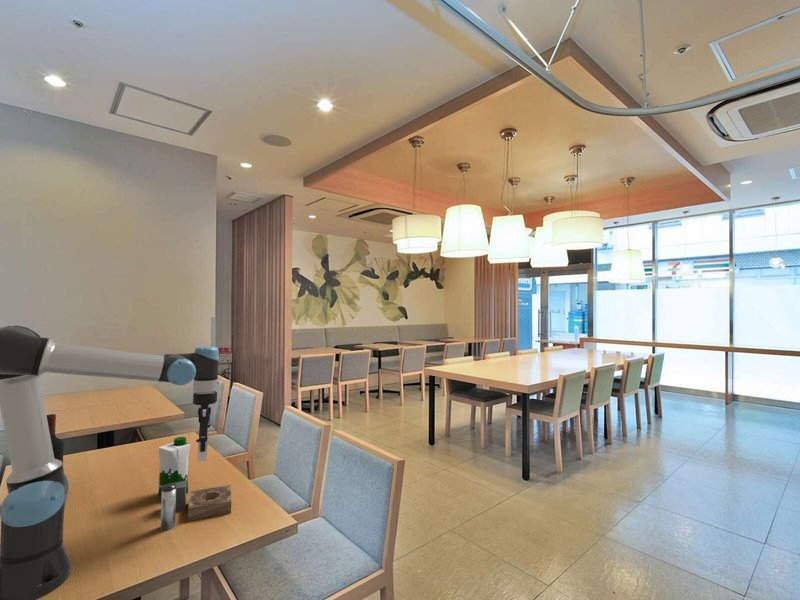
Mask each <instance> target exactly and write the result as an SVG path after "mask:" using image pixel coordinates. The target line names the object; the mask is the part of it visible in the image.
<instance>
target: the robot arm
mask: <svg viewBox="0 0 800 600" xmlns="http://www.w3.org/2000/svg"><path fill="white" fill-rule="evenodd" d="M219 352H220V351H219V348H218V347H216V346H213V345H211V346H209V345H206V346H197V347H195V349H194V352H189V353H164V354H149V353H140V352H139V353H138V352H134V351H133V352H131V351H124V350H116V349H115V350H114V349H108V348H107V349H106V348H98V347H89V346H82V345H74V344H64V343H56V342H55V341H54V340H53V339H52V338H48V337H41V335H40V334H38V332H37V331H35V330H34V329H32V328H30V327H27V326H22V325H6V326H2V327H0V413H1V414H0V415H1V418H2V424H3V428H4V434H5V439H6V444H7V445H6V446H7V450H8V455H9V459H10V460H9V461H10V464H11V469H12V471H11V473H10V474H9V475H7V477H6V479H5V482H6V487H7V493H8V495H6V496H5V498H4V499H3V501H2V503H1V507H0V600H35V599H38V598H41V597H42V596H45V595H46V594H49V593H51V592H52V591H53V590H55V589H57V588H58V587H60V586H61V585H62V584H63V583H64V582H65V581H66V580H67V579H68V578H69V576H70V575H71V570H72V568H71V567H72V565H71V563H72V562H71V559H70V557H69V555H68V552H67V550H66V548H65V546H64V521H65V520H64V519H65V517H64V515H65V508H66V501H67V495H68V492H69V488H70V487H69V485H70V484H69V479H68V477H67V475H66V474H65V470H64V463H63V464H62V461H60V460H57V459H55V458H54V454H53V449H52V443H51V438H50V432H49V427H48V421H47V416H46V415H47V412H46V411H47V410H46V405H45V401H44V395H43V394H44V393H43V389H42V384H41V380H40V377H41V376H42V375H44V374H46V373H49V374H63V375H74V376H75V375H76V376H88V377H89V376H90V377H101V378H114V379H125V380H136V381H137V380H139V381H150V382H151V381H152V382H161V383H170V384H173V385H176V386H185V385H187V384H190V383H191V382H192V381H193V385H192V386H193V389H192V391H193V393H192V403H193V404H194V405H195V406H200V407H199V408H198V409H197V410H198V411H197V414H198V419H197V421H198V423H199V428H198V431H199V433H198V439H196V440H195V442H196V443H198V444H197V445H198V446H197V463H199V462H207V461H208V447H209V446H208V444H209V443H208V442H209V428H211V424H209V422H210V420H211V415H212V407H211V406H209V405H214V404H216V403H217V401H218V385H220V381H219V380H218V379H219V362H220V355H219V354H220V353H219Z"/></svg>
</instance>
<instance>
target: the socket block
mask: <svg viewBox="0 0 800 600" xmlns="http://www.w3.org/2000/svg"><path fill="white" fill-rule="evenodd" d="M231 488H232V487H231V484H229V485H223V486H216V487H208V488H203V489H197V490H191V491H190V493H189V494H190V495H189V501H188V508H187V522H188V521H189V520H190V521H195V520H200V519H205V518H211V517H210V516H212V517H216V515H217V516H221V515H220V514H222V515H226V514H225V513H228V514H230V513H229V512H231V513H232V489H231Z"/></svg>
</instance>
